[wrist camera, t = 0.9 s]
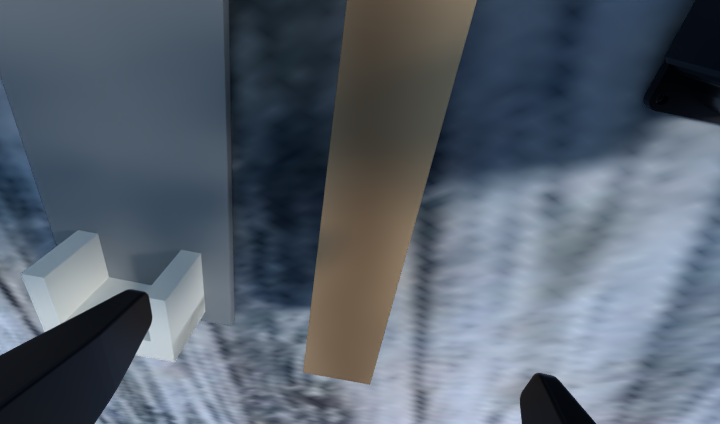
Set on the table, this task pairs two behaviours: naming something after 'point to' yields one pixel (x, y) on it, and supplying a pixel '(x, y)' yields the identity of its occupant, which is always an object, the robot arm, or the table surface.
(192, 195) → the end cap frame
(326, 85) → the table surface
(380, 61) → the wooden block
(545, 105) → the table surface
